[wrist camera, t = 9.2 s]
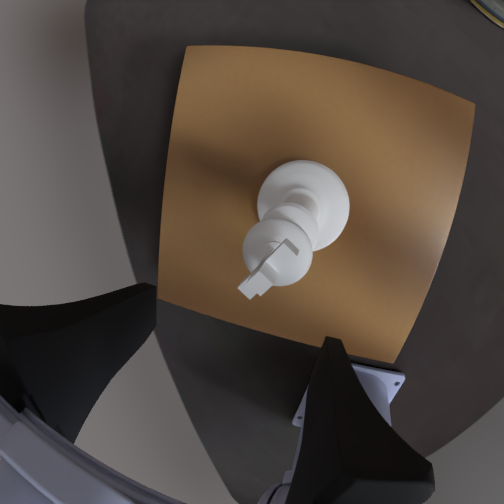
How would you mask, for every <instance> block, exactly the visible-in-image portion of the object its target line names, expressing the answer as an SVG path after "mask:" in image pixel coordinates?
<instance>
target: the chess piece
mask: <svg viewBox="0 0 504 504" xmlns="http://www.w3.org/2000/svg"><path fill="white" fill-rule="evenodd" d="M257 211H258V216H259V220H260V222H258V223H257V224H255V225H254V226H253V227H252V228H251V229H250V230H249V232H248V233H247V235H246V237H245V239H244V242H243V248H242V253H243V259H244V262H245V265H246V267H247V268H248V270H249V271H250V274H249V275H248V276H247V277H246V278H245V279H244V280H243V281H242V282H241V284H240V285H239V286H238V289H239V290H240V291H241V292H242V293H243V294H244V295H245V296H246V297H247V298H248V299H251V298H253V297H254V296H255V295H256V294H258V295H259V296H261V295H263V294H264V293H265V292H266V291H267V290H268V289H269V288H270V287H271V286H286V285H290V284H293V283H295V282H297V281H298V280H300V279H301V278H302V277H303V276H304V275H305V274H306V273H307V271H308V270H309V268H310V265H311V262H312V256H313V251H317V250H320V249H322V248H325V247H326V246H328V245H330V244H331V243H332V242H334V241H335V240H336V239H337V238H338V236H339V235H340V234H341V232H342V231H343V229H344V227H345V225H346V223H347V220H348V216H349V197H348V193H347V190H346V188H345V186H344V184H343V182H342V181H341V179H340V178H339V177H338V176H337V175H336V174H335V173H334V172H333V171H332V170H331V169H329V168H328V167H326V166H325V165H323V164H320V163H318V162H314V161H310V160H296V161H291V162H288V163H285V164H283V165H281V166H279V167H278V168H276V169H275V170H274V171H272V172H271V173H270V174H269V176H268V177H267V178H266V180H265V181H264V183H263V185H262V187H261V189H260V192H259V195H258V201H257Z"/></svg>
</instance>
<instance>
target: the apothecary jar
mask: <svg viewBox="0 0 504 504" xmlns="http://www.w3.org/2000/svg"><path fill="white" fill-rule="evenodd" d="M470 1H471V2H472V3H473V4H474V5H475V6H476V7H477V8H478V9H479V10H480V11H481V12H482V13H483V14H484V15H485V16H487V17H488V18H489V19H490V20H492V21H493V22H494V23H496V24H497V25H499V26H500V27H502V28H503V29H504V0H470Z"/></svg>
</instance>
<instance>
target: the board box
mask: <svg viewBox="0 0 504 504" xmlns="http://www.w3.org/2000/svg"><path fill="white" fill-rule="evenodd" d="M474 112H475V104H474V103H472V102H470V101H468V100H466V99H464V98H461V97H459V96H457V95H454V94H452V93H450V92H447V91H445V90H442V89H440V88H437V87H435V86H432V85H430V84H427V83H424V82H421V81H419V80H416V79H413V78H410V77H407V76H404V75H401V74H398V73H394V72H391V71H388V70H384V69H381V68H377V67H373V66H369V65H366V64H362V63H357V62H353V61H349V60H344V59H339V58H334V57H329V56H324V55H318V54H312V53H306V52H299V51H291V50H283V49H273V48H262V47H248V46H218V45H205V46H187V47H186V51H185V56H184V60H183V65H182V70H181V75H180V80H179V85H178V91H177V96H176V102H175V108H174V114H173V120H172V127H171V134H170V141H169V148H168V156H167V164H166V173H165V182H164V192H163V203H162V215H161V229H160V245H159V266H158V298H159V299H161V300H164V301H167V302H170V303H173V304H175V305H178V306H181V307H184V308H187V309H190V310H193V311H196V312H199V313H202V314H205V315H208V316H211V317H214V318H218V319H221V320H224V321H227V322H230V323H234V324H237V325H240V326H244V327H247V328H250V329H254V330H257V331H261V332H264V333H268V334H271V335H275V336H278V337H282V338H286V339H289V340H293V341H297V342H301V343H305V344H309V345H312V346H316V347H322V345H323V342H324V339H325V337H326V336H329V337H333V338H338V339H341V341H342V342H343V345H344V347H345V350H346V352H347V354H350V355H355V356H359V357H364V358H369V359H373V360H378V361H383V362H388V363H394V361H395V360H396V358H397V356H398V354H399V352H400V350H401V348H402V346H403V344H404V342H405V340H406V338H407V336H408V334H409V332H410V330H411V328H412V326H413V324H414V322H415V320H416V318H417V315H418V313H419V311H420V309H421V306H422V304H423V302H424V299H425V297H426V295H427V292H428V290H429V287H430V285H431V282H432V280H433V277H434V275H435V272H436V269H437V267H438V264H439V261H440V258H441V256H442V253H443V250H444V247H445V244H446V241H447V238H448V234H449V231H450V228H451V225H452V221H453V218H454V214H455V211H456V207H457V203H458V199H459V195H460V191H461V187H462V183H463V178H464V174H465V169H466V164H467V159H468V153H469V148H470V142H471V135H472V128H473V120H474ZM296 160H310V161H314V162H318V163H320V164H323V165H325V166H326V167H328V168H329V169H331V170H332V171H333V172H334V173H335V174H336V175H337V176H338V177H339V178H340V179H341V181H342V182H343V184H344V186H345V188H346V190H347V193H348V197H349V216H348V220H347V223H346V225H345V227H344V229H343V231H342V232H341V234H340V235H339V236H338V238H337V239H336V240H335V241H334V242H332V243H331V244H330V245H328V246H326V247H325V248H322V249H320V250H317V251H313V256H312V262H311V265H310V268H309V270H308V271H307V273H306V274H305V275H304V276H303V277H302V278H301V279H300V280H298V281H297V282H295V283H293V284H290V285H286V286H271V287H270V288H269V289H268V290H267V291H266V292H265V293H264V294H263V295H261V296H259V295H258V294H256V295H255V296H254V297H253V298H251V299H248V298H247V297H246V296H245V295H244V294H243V293H242V292H241V291H240V290H239V289H238V286H239V285H240V284H241V282H242V281H243V280H244V279H245V278H246V277H247V276H248V275H249V274H250V271H249V270H248V268H247V267H246V265H245V262H244V259H243V253H242V248H243V242H244V239H245V237H246V235H247V233H248V232H249V230H250V229H251V228H252V227H253V226H254V225H255V224H257V223H258V222H260V220H259V216H258V211H257V201H258V195H259V192H260V189H261V187H262V185H263V183H264V181H265V180H266V178H267V177H268V176H269V174H270V173H271V172H272V171H274V170H275V169H276V168H278V167H279V166H281V165H283V164H285V163H288V162H291V161H296Z"/></svg>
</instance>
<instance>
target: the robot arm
mask: <svg viewBox="0 0 504 504" xmlns="http://www.w3.org/2000/svg"><path fill="white" fill-rule="evenodd" d="M155 326H156V286H153V285H150V284H148V283H140V284H136V285H133V286H129V287H126V288H123V289H119V290H116V291H113V292H110V293H107V294H103V295H100V296H96V297H92V298H88V299H85V300H80V301H76V302H71V303H65V304H58V305H47V306H11V305H2V304H0V458H1V460H0V504H186V503H183V502H181V501H178V500H176V499H173V498H171V497H168V496H166V495H164V494H162V493H159V492H157V491H155V490H153V489H150V488H148V487H146V486H144V485H142V484H140V483H138V482H136V481H134V480H132V479H130V478H128V477H126V476H125V475H123V474H121V473H119V472H117V471H116V470H114V469H112V468H110V467H108V466H107V465H105V464H103V463H102V462H100V461H98V460H97V459H95V458H94V457H92V456H91V455H89V454H87V453H86V452H84V451H83V450H81V449H80V448H78V447H77V446H75V445H74V442H75V440H76V438H77V436H78V433H79V432H80V430H81V428H82V425H83V424H84V422H85V420H86V418H87V416H88V415H89V413H90V411H91V409H92V408H93V406H94V405H95V403H96V401H97V400H98V398H99V396H100V395H101V394H102V392H103V391H104V389H105V388H106V386H107V385H108V383H109V382H110V380H111V379H112V378H113V377H114V376H115V374H116V373H117V372H118V371H119V370H120V369H121V368H122V367H123V366H124V364H125V363H126V362H127V361H128V360H129V359H130V358H131V357H132V356H133V354H135V352H136V351H137V350H138V349H139V348H140V347H141V346H142V344H144V342H145V341H146V340H147V338H148V337H149V335H150V334H151V332H152V331H153V329H154V328H155ZM404 380H405V375H404V374H403V373H400V372H394V371H389V370H384V369H378V368H373V367H368V366H364V365H359V364H354V363H351V362H350V359H349V357H348V355H347V352H346V350H345V347H344V345H343V342H342V341H341V339H338V338H333V337H329V336H326V337H325V339H324V342H323V345H322V347H321V350H320V352H319V355H318V357H317V360H316V363H315V365H314V367H313V370H312V372H311V376H310V381H309V385H308V387H307V389H306V392H305V394H304V396H303V398H302V401H301V403H300V405H299V407H298V410H297V412H296V414H295V416H294V418H293V421H292V424H293V425H295V426H299V427H301V430H300V435H299V440H298V445H297V449H296V454H295V458H294V462H293V467H292V470H288V471H285V475H284V478H283V482H282V483H277V484H273V485H272V486H270V487H269V488H268V489H267V490H266V491H265V492H264V494H263V495H262V497H261V498H260V500H259V501H258V503H257V504H422V503H424V502H425V501H426V500H428V499H429V498H430V497H431V496H432V494H433V493H434V491H435V481H434V473H433V467H432V463H430V462H429V461H428V460H426V459H425V458H424V457H423V456H421V455H420V454H419V453H417V452H416V451H415V450H414V449H413V448H411V447H410V446H409V445H408V444H407V443H406V442H405V441H404V440H403V439H402V438H401V437H400V436H399V435H398V434H397V433H396V432H395V431H394V430H393V429H392V427H391V419H390V409H389V403H390V402H391V400H392V399H393V397H394V396H395V394H396V393H397V391H398V390H399V388H400V386H401V385H402V383H403V382H404ZM398 381H399V382H398ZM395 382H397V383H395Z"/></svg>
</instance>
